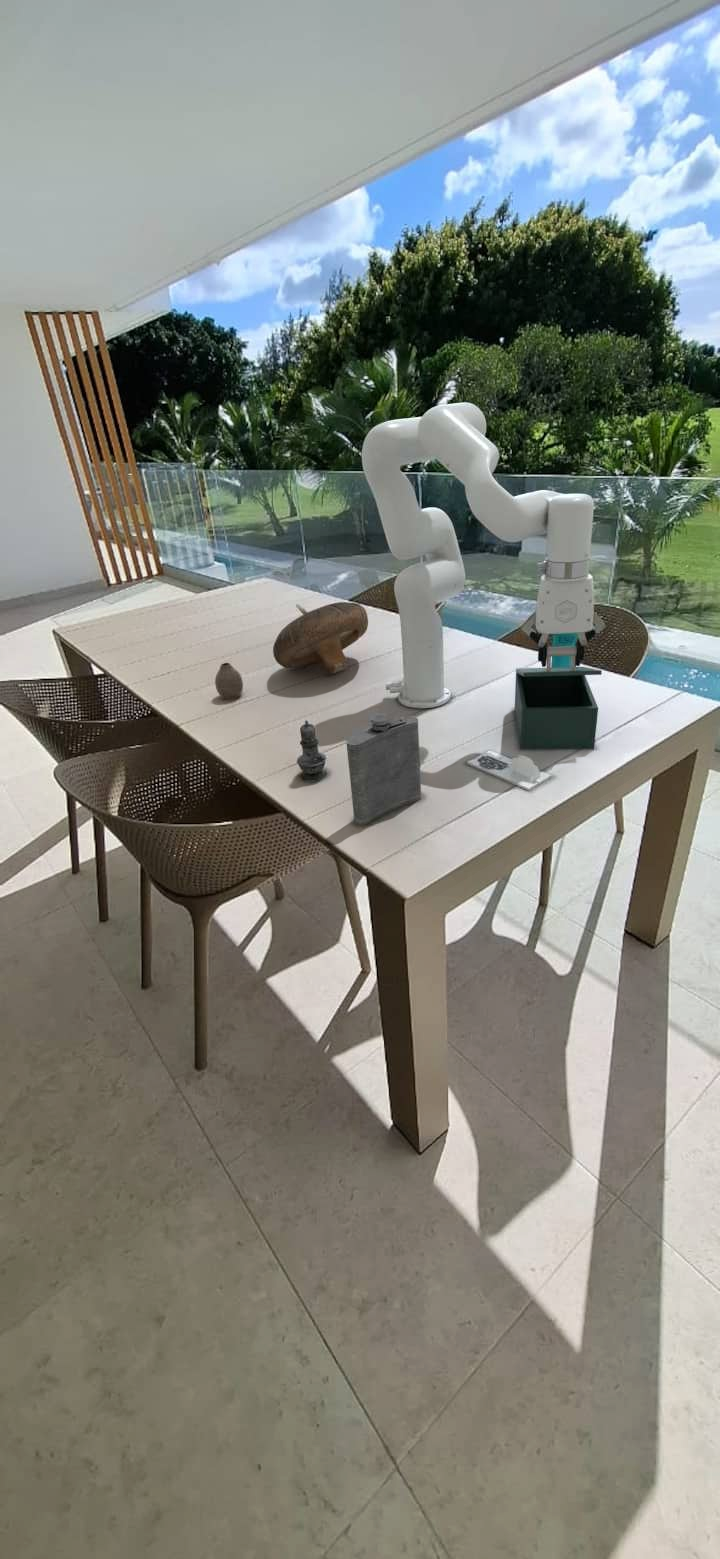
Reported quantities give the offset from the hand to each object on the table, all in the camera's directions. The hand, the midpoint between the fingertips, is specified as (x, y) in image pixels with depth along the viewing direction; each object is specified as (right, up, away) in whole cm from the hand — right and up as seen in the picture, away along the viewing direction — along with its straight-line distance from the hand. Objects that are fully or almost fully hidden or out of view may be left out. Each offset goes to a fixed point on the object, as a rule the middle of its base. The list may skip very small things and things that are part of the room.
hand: (560, 663), depth 129 cm
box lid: (+1, -1, +7) cm, 7 cm away
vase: (-72, -1, +44) cm, 84 cm away
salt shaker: (-48, -22, +4) cm, 53 cm away
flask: (-34, -28, -9) cm, 45 cm away
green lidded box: (+2, -11, +13) cm, 18 cm away
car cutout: (-10, -21, -1) cm, 23 cm away
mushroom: (-48, +7, +55) cm, 73 cm away
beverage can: (+10, 0, +33) cm, 35 cm away
